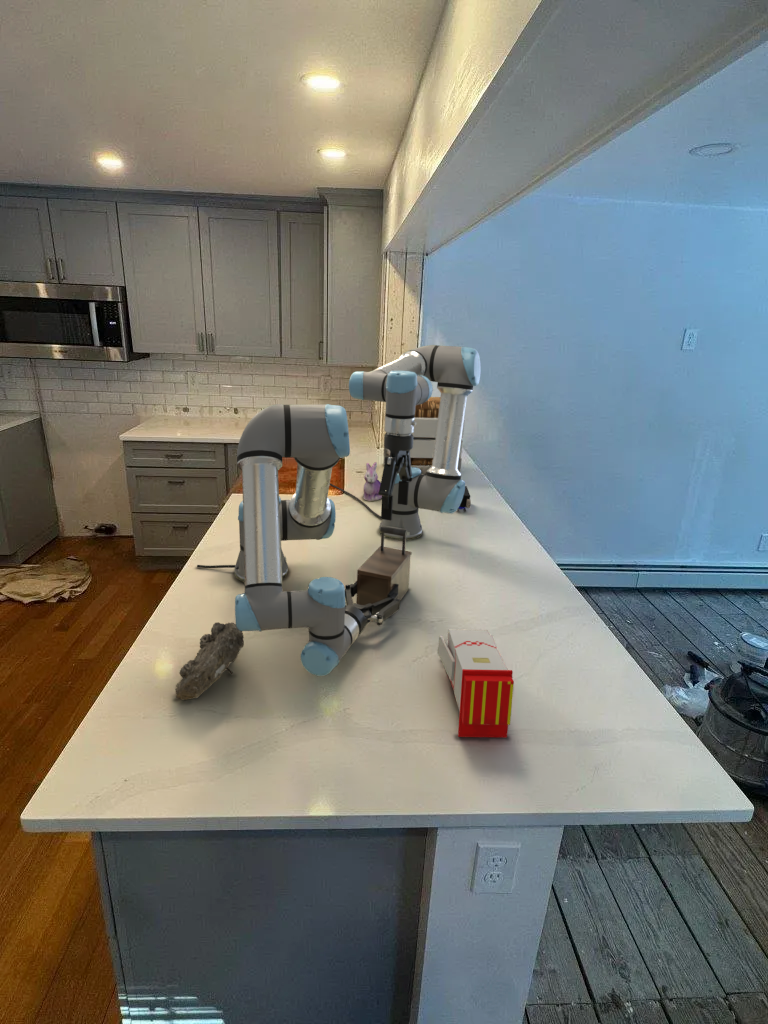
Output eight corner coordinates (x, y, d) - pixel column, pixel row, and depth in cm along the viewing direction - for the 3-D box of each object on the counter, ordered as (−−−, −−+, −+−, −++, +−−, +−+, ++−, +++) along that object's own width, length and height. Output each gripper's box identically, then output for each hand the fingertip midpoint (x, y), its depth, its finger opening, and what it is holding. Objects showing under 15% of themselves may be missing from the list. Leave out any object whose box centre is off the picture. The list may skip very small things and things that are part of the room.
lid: (380, 549, 160) (381, 521, 158) (411, 554, 158) (413, 527, 155) (357, 573, 145) (358, 543, 142) (391, 580, 142) (392, 549, 140)
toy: (488, 613, 130) (523, 677, 101) (484, 667, 133) (517, 744, 104) (435, 612, 130) (455, 676, 101) (432, 666, 133) (451, 743, 103)
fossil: (197, 625, 130) (244, 594, 125) (226, 653, 133) (272, 624, 128) (153, 694, 111) (206, 661, 106) (188, 725, 114) (241, 695, 109)
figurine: (367, 502, 230) (368, 467, 225) (357, 495, 238) (358, 460, 233) (388, 500, 234) (389, 465, 229) (377, 492, 242) (378, 458, 237)
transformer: (382, 463, 289) (386, 382, 275) (445, 464, 293) (451, 384, 279) (390, 482, 257) (394, 392, 243) (460, 483, 261) (468, 394, 247)
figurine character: (470, 516, 223) (465, 500, 237) (473, 499, 220) (467, 484, 233) (453, 516, 223) (449, 500, 236) (455, 498, 220) (451, 483, 233)
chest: (377, 583, 163) (379, 550, 160) (408, 589, 161) (410, 555, 157) (356, 609, 149) (357, 573, 145) (389, 616, 146) (391, 580, 142)
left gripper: (301, 630, 134) (340, 589, 154) (389, 651, 127) (418, 606, 147) (301, 602, 131) (340, 564, 151) (391, 622, 124) (419, 580, 144)
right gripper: (397, 444, 133) (392, 528, 140) (426, 426, 155) (421, 500, 162) (367, 440, 135) (364, 523, 142) (400, 423, 157) (396, 496, 164)
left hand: (378, 585), depth 149 cm, fingers closed on chest, 9 cm apart
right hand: (394, 511), depth 152 cm, fingers open, 13 cm apart
